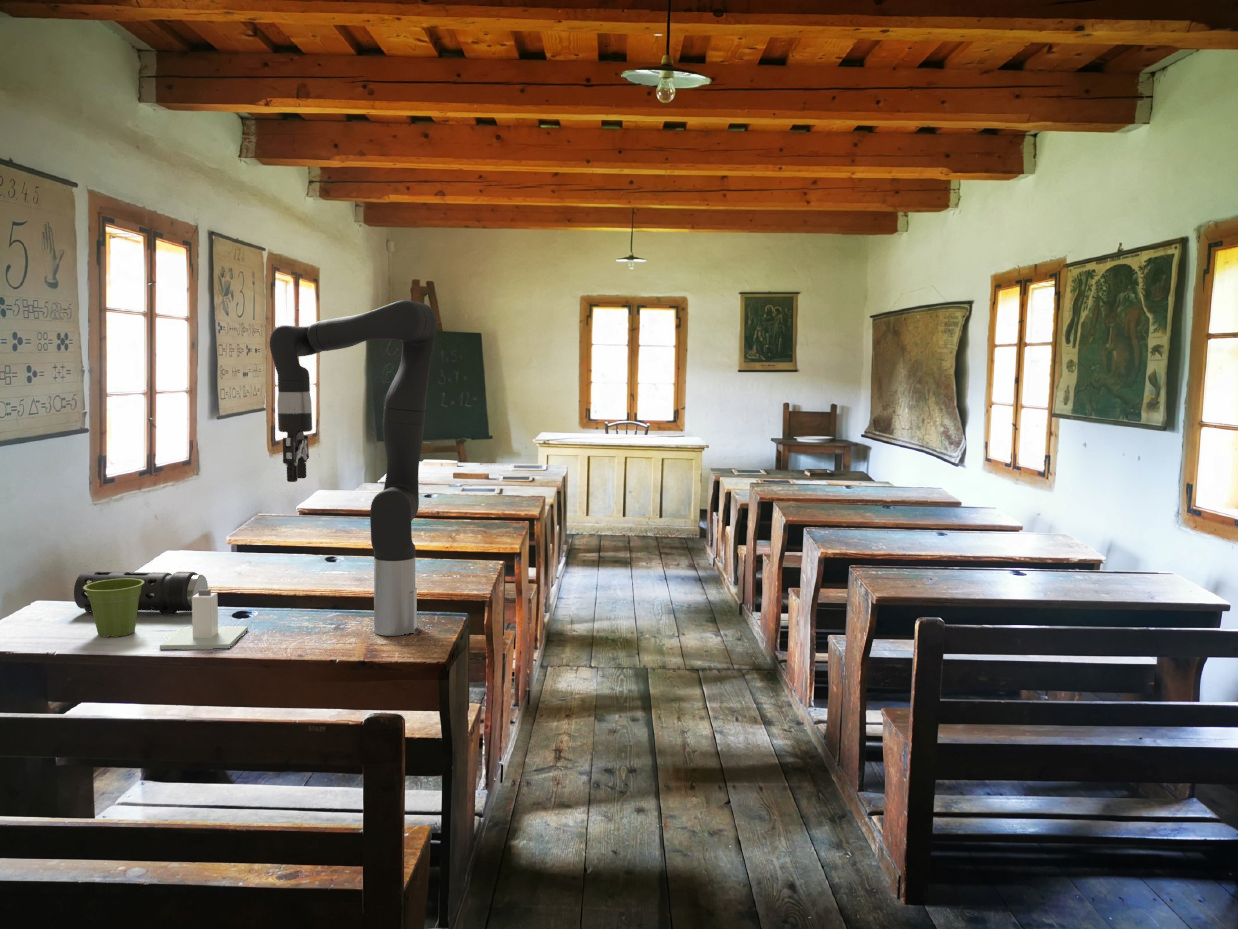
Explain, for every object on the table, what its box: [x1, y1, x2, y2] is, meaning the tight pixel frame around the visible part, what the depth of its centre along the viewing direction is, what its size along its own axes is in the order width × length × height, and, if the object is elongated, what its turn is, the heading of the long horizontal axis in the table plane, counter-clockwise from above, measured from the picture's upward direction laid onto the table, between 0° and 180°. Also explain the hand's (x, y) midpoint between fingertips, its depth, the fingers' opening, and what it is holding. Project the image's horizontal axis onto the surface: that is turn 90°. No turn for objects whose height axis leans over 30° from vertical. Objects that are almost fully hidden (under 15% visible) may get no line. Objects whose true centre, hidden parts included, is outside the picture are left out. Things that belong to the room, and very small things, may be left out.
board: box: [159, 625, 249, 650], centre depth 198 cm, size 14×14×1 cm
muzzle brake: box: [73, 570, 209, 615], centre depth 218 cm, size 10×28×10 cm, turn 91°
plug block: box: [191, 589, 219, 638], centre depth 197 cm, size 4×4×10 cm
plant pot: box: [83, 578, 144, 638], centre depth 200 cm, size 12×12×11 cm
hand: (297, 479), depth 213 cm, fingers open, 8 cm apart
